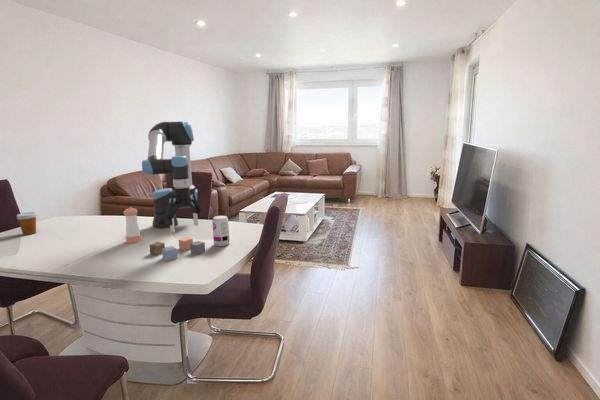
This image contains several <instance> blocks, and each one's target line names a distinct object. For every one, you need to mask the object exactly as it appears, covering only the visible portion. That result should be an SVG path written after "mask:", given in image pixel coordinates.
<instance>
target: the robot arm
mask: <svg viewBox="0 0 600 400" xmlns="http://www.w3.org/2000/svg"><path fill="white" fill-rule="evenodd" d="M147 138H148V141H149V143H148V150H147V158H146V159H143V160H142V162H141V169H142V174H144V175H147V176H148V175H151V176H153V175H170V174H171V175H172V186H173V187H174V188H173V189H172V188H171V187H170V188H168V187H166V188H161V189H157V190H155V191H154V192H153V193H152V202H153V211H154V212H153V213H154V216H153V218H152V219H153V220H152V228H154V229H169V230H170V232H173V233H174V232H176V230H175V227H176V226H178V225H179V221H178V218H177V216H176V212H177V211H178V209H191V211H192V212H193V213H192V216H193V226H195V227H197V226H199V218H200V216H199V214H200V213H201V212H202V208H201V206H200V204H199V202H198V189H197V188H196V186H195V185H193V177H192V166H191V165H192V162H191V152H190V150H191V149H190V147H191V146H192V145H193V142H194V141H195V139H194V135H193V128H192V124H191V123H190V121H162V122H159V123H156V124H155V125H154V126H153V127H151V129H150V130H149V132H148V136H147ZM166 142H167V143H169V142H171V146H173V147H174V152H175V154H174V156H172V157H171V158H170V159H169V158H168V159H167V158H166V159H165V158H164V150H165V149H164V148H165V147H164V146H165V145H164V144H166Z"/></svg>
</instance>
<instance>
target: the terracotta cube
mask: <svg viewBox="0 0 600 400" xmlns="http://www.w3.org/2000/svg"><path fill="white" fill-rule="evenodd" d="M193 242H194V240H193V238H191V237H183V238H179V239H178V249H180V250H182V251H185V252H186V251H188V250H190V243H193Z"/></svg>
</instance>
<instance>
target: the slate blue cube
mask: <svg viewBox="0 0 600 400" xmlns="http://www.w3.org/2000/svg"><path fill="white" fill-rule="evenodd" d="M177 252H178V250H177V247H174V246H173V245H171V246H167V247H165V248H162V254H161V255H162V259H163V260H165V261H167V262H168V261H172V260H176V259H178V253H177Z"/></svg>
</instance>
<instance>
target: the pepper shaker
mask: <svg viewBox="0 0 600 400" xmlns="http://www.w3.org/2000/svg"><path fill="white" fill-rule="evenodd" d="M138 213H139V211H138V209H137V208H134V207H131V206H130V207H128V208H126V209H125V210H124V211H123V215H124V216H125V222H126V223H125V238H126V239H125V240H126V243H127V244H137V243H140V242H141V241H142V236H141V233H140V226H139V223H138V217H137V215H138Z"/></svg>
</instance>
